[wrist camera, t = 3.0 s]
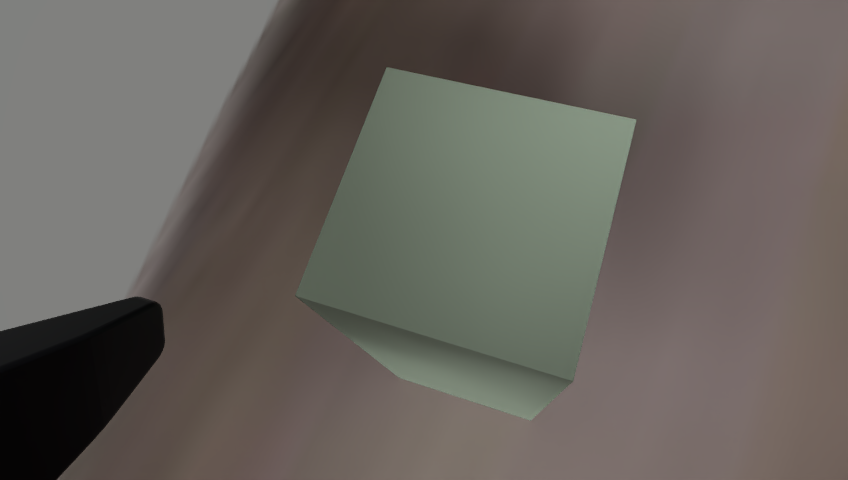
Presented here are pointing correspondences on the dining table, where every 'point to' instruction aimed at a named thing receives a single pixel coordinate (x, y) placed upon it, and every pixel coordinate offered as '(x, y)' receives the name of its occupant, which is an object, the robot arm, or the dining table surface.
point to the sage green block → (470, 238)
